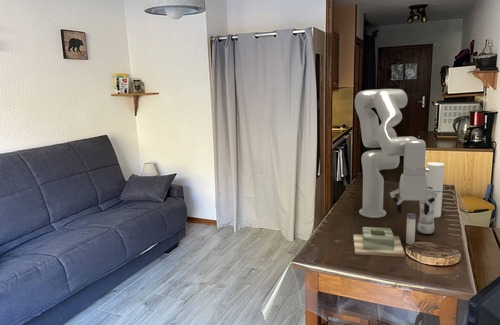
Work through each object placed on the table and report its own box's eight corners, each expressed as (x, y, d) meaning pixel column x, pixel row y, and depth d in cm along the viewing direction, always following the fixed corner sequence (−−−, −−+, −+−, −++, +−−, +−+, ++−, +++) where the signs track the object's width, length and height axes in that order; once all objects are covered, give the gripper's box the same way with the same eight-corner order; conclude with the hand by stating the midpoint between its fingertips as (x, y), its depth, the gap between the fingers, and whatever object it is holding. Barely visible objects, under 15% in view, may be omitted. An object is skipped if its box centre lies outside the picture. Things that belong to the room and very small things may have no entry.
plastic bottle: (413, 231, 163) (416, 187, 159) (425, 228, 166) (428, 184, 161) (425, 237, 157) (428, 191, 153) (437, 234, 160) (440, 188, 155)
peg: (405, 240, 155) (406, 213, 152) (413, 241, 154) (415, 213, 151) (406, 244, 152) (407, 216, 149) (415, 244, 151) (416, 216, 148)
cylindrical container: (425, 217, 178) (429, 165, 173) (422, 211, 185) (425, 162, 180) (442, 217, 177) (446, 165, 171) (438, 212, 184) (442, 162, 178)
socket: (353, 236, 161) (353, 224, 160) (398, 239, 157) (399, 226, 155) (354, 254, 146) (355, 240, 144) (404, 256, 142) (405, 242, 140)
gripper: (435, 169, 148) (434, 211, 151) (389, 169, 152) (388, 210, 155) (440, 173, 141) (438, 217, 144) (391, 173, 145) (390, 216, 148)
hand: (412, 213), depth 150 cm, fingers open, 9 cm apart
